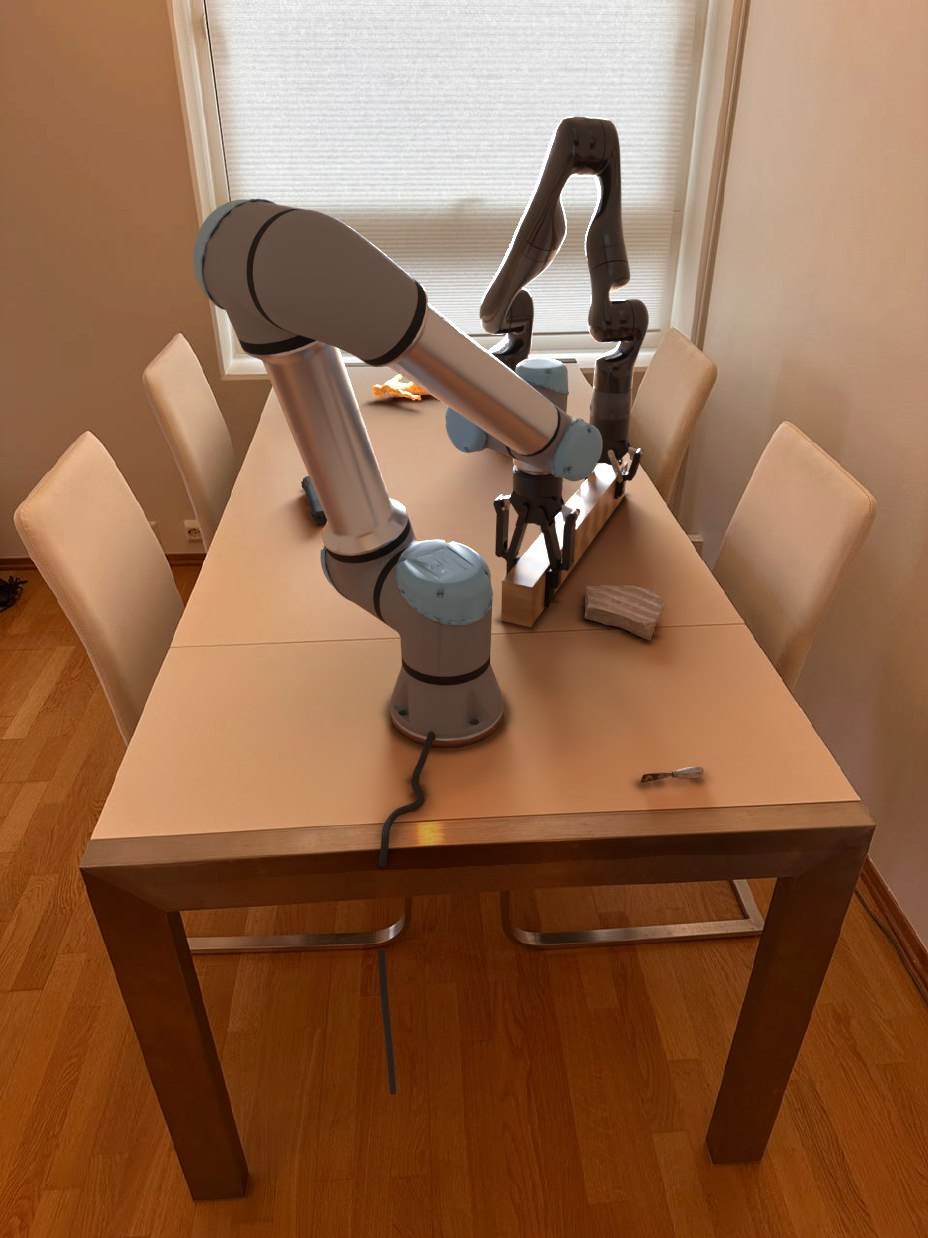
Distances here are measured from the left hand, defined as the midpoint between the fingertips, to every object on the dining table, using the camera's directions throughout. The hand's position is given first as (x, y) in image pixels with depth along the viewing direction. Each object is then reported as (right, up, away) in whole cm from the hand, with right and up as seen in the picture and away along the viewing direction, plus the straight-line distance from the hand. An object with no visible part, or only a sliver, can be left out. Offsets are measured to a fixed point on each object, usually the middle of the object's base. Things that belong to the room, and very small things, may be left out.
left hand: (532, 599), depth 145 cm
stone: (+14, -3, -4) cm, 15 cm away
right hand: (+16, +21, +30) cm, 40 cm away
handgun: (-37, +20, +33) cm, 53 cm away
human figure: (-23, +56, +91) cm, 109 cm away
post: (+8, +9, +16) cm, 20 cm away
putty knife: (+14, -23, -36) cm, 45 cm away
